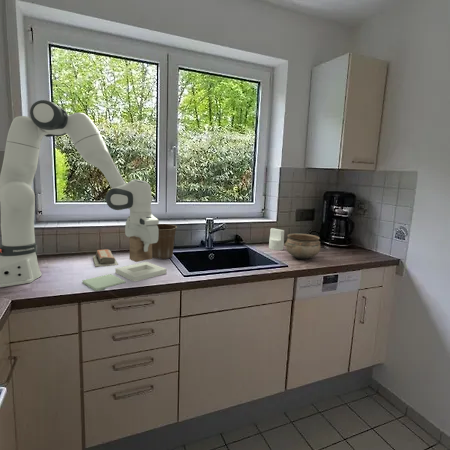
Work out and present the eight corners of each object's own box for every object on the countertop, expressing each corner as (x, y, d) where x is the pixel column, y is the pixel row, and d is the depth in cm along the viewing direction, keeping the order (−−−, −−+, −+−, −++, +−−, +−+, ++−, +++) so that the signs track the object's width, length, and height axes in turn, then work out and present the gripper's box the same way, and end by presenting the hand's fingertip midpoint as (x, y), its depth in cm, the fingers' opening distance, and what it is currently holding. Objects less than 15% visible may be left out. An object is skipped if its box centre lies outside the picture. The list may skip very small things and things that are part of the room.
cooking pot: (295, 265, 161) (297, 241, 159) (273, 255, 178) (274, 234, 176) (330, 260, 173) (332, 238, 171) (306, 252, 190) (308, 232, 187)
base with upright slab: (265, 247, 196) (266, 228, 194) (274, 246, 202) (276, 227, 200) (277, 250, 189) (278, 231, 187) (286, 248, 196) (287, 229, 194)
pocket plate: (134, 282, 127) (134, 276, 127) (115, 273, 137) (115, 268, 137) (166, 274, 139) (166, 268, 139) (146, 266, 149) (146, 261, 148)
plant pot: (162, 262, 157) (163, 230, 154) (138, 257, 164) (138, 226, 162) (182, 255, 171) (183, 226, 168) (159, 251, 178) (159, 222, 176)
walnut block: (136, 262, 132) (135, 238, 131) (129, 259, 135) (129, 236, 134) (152, 258, 138) (152, 236, 136) (145, 256, 141) (145, 234, 140)
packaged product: (92, 249, 159) (112, 248, 163) (92, 258, 160) (113, 257, 164) (95, 258, 143) (118, 256, 148) (95, 269, 144) (118, 266, 148)
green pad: (96, 291, 117) (96, 288, 117) (82, 282, 125) (82, 280, 125) (125, 283, 126) (125, 281, 126) (110, 276, 134) (110, 273, 134)
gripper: (121, 215, 138) (121, 246, 141) (148, 222, 125) (148, 255, 127) (133, 214, 143) (134, 244, 145) (161, 220, 130) (161, 253, 132)
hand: (140, 249), depth 136 cm, fingers closed on walnut block, 5 cm apart
